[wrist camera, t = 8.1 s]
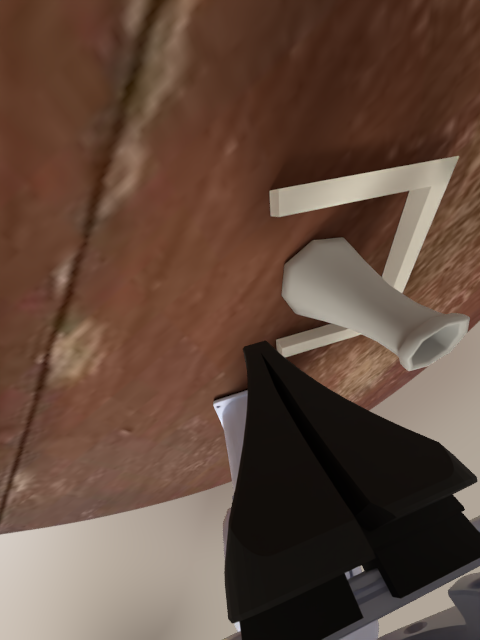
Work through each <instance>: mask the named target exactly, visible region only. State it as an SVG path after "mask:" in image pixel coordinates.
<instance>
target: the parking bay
mask: <svg viewBox="0 0 480 640" xmlns="http://www.w3.org/2000/svg"><path fill="white" fill-rule="evenodd" d="M458 158H459V156H455V157H450V158H444V159H439V160H433V161H428V162H422V163H417V164H411V165H406V166H401V167H395V168H390V169H384V170H379V171H373V172H368V173H362V174H357V175H352V176H346V177H341V178H335V179H330V180H324V181H319V182H313V183H308V184H302V185H297V186H292V187H286V188H281V189H276V190H271V191H269V192H270V214H271V216H274V217H282V216H287V215H292V214H297V213H301V212H306V211H311V210H316V209H321V208H326V207H331V206H336V205H341V204H346V203H351V202H356V201H361V200H365V199H370V198H375V197H380V196H385V195H390V194H395V193H400V192H405V191H409V194H408V197H407V200H406V203H405V206H404V210H403V213H402V216H401V219H400V222H399V225H398V228H397V231H396V234H395V237H394V241H393V244H392V247H391V250H390V253H389V256H388V259H387V262H386V265H385V269H384V272H383V275H382V278H383V279H384V280H385V281H386V282H387V283H388V284H389V285H390V286H392V287H393V288H395V289H396V290H398V291H399V292H401V293H403V291H404V288H405V286H406V283H407V281H408V279H409V276H410V274H411V271H412V269H413V267H414V264H415V262H416V259H417V257H418V254H419V252H420V250H421V247H422V245H423V242H424V240H425V238H426V235H427V233H428V230H429V228H430V226H431V223H432V221H433V218H434V216H435V213H436V211H437V209H438V206H439V204H440V201H441V199H442V197H443V194H444V192H445V189H446V187H447V185H448V182H449V180H450V177H451V175H452V172H453V170H454V168H455V165H456V163H457V160H458ZM358 335H361V334H360V333H358V332H356V331H354V330H352V329H348V328H345V327H342V326H338V325H335V324H329V325H325V326H322V327H318V328H315V329H311V330H308V331H304V332H301V333H298V334H294V335H291V336H287V337H284V338H280V339H277V340H276V347H277V351H278V352H279V353H280V354H281V355H282V356H284V357H289V356H292V355H295V354H298V353H302V352H305V351H308V350H312V349H315V348H318V347H321V346H325V345H328V344H331V343H335V342H338V341H341V340H345V339H348V338H351V337H354V336H358Z"/></svg>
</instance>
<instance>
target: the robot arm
mask: <svg viewBox="0 0 480 640" xmlns="http://www.w3.org/2000/svg"><path fill="white" fill-rule="evenodd" d="M243 352H244V357H245V362H246V367H247V377H248V390H246V391H243V392H240V393H237V394H234V395H231V396H227V397H224V398H221V399H218V400H215V401H214V402H213V405H214V408H215V410H216V412H217V415H218V417H219V419H220V421H221V424H222V426H223V428H224V432H225V439H226V445H227V451H228V458H229V464H230V470H231V476H232V483H233V489H234V495H233V496H232V499H233V502H232V507H231V508H229V509H228V511H227V515H226V516H225V519H224V521H223V541H224V555H225V589H226V599H227V609H228V619H229V620H230V621H231V623H235V627H236V629H237V633H235V634H233V635H231V636H229V637H227V638H225V639H223V640H480V573H474V574H470V575H467V576H464V577H462V578H460V579H459V580H458V581H457V582H456V583H455V584H454V585H453V586H452V587H451V588H450V589H449V590H448V594H449V597H450V598H451V599H452V601H453V602H454V604H455V606H454V607H452V608H449V609H447V610H444V611H442V612H439V613H437V614H435V615H432V616H430V617H427V618H424V619H422V620H420V621H417V622H415V623H412V624H410V625H407V626H405V627H403V628H400V629H398V630H395V631H393V632H391V633H388V634H386V635H384V636H382V637H380V638H378V632H379V623H378V619H379V618H381V617H383V616H385V615H387V614H389V613H391V612H393V611H395V610H396V609H399V608H400V607H402V606H404V605H406V604H408V603H410V602H412V601H414V600H416V599H418V598H420V597H421V596H423V595H425V594H427V593H429V592H431V591H433V590H435V589H437V588H439V587H441V586H442V585H444V584H446V583H448V582H450V581H452V580H454V579H456V578H458V577H460V576H461V575H464V574H465V573H467V572H469V571H471V570H473V569H475V568H477V567H479V566H480V516H478V517H476V518H474V519H472V520H470V521H469V520H468V519H467V518H466V517H465V516H464V514H463V513H462V511H464V510H465V509H464V507H463V505H461V503H460V502H459V501H458V500H457V499H456V498H455V497H454V496H453V495H452V494H454V493H456V492H458V491H460V490H462V489H464V488H466V487H468V486H470V485H472V484H474V483H476V482H477V477H476V476H475V475H474V474H473V473H472V472H471V471H470V470H469V469H468V468H467V467H465V465H464V464H462V463H461V462H460V461H459V460H458V459H457V458H456V457H455V456H454V455H453V454H452V453H450V452H449V451H448V450H447V449H446V448H445V447H444V446H442V445H441V444H440V443H439V442H437V441H434V440H432V439H430V438H427V437H425V436H423V435H420V434H418V433H415V432H413V431H411V430H408V429H406V428H404V427H402V426H399V425H397V424H395V423H393V422H391V421H389V420H386V419H384V418H382V417H380V416H378V415H376V414H374V413H372V412H370V411H368V410H366V409H364V408H362V407H360V406H359V405H357V404H355V403H353V402H351V401H349V400H347V399H345V398H343V397H342V396H340V395H338V394H337V393H335V392H333V391H331V390H330V389H328V388H327V387H325V386H323V385H322V384H320V383H319V382H317V381H316V380H314V379H313V378H311V377H310V376H308V375H307V374H306V373H304V372H303V371H301V370H300V369H299V368H297V367H296V366H295V365H294V364H292V363H291V362H290V361H289V360H287V359H286V358H285V357H284V356H282V355H281V354H280V353H279V352H278V351H277V350H276V349H274V348H273V347H272V346H271V345H270V344H269V343H268V342H267V341H263V342H259V343H256V344H252V345H249V346H245V347H244V348H243ZM361 565H362V566H363V568H364V570H365V571H364V572H362V571H361V567H360V566H361Z"/></svg>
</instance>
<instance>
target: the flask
mask: <svg viewBox="0 0 480 640" xmlns="http://www.w3.org/2000/svg"><path fill="white" fill-rule="evenodd" d="M282 297H283V298H284V299H285V301H286V302H287V303H288V305H289V306H290V307H291V309H292V310H293V311H294V313H295V314H298V315H302V316H306V317H310V318H314V319H318V320H322V321H325V322H328V323H332V324H335V325H338V326H342V327H345V328H348V329H352V330H354V331H356V332H358V333H360V334H362V335H364V336H366V337H369V338H371V339H373V340H375V341H377V342H379V343H380V344H382V345H383V346H385V347H386V348H388V349H389V350H390V351H392V352H393V353H395V354H396V355H397V356H398V357H399V360H400V363H401V365H402V366H403V367H404V368H405V369H407V370H408V371H411V370H415V369H419V368H422V367H426V366H429V365H430V364H432V363H434V362H435V361H437V360H438V359H440V358H442V357H443V356H445V355H447V354H448V353H450V352H451V351H452V350H453V349H454V348H455V346H456V345H457V344H458V343H459V342H460V341H461V339H462V338H463V337H464V336H465V335H466V333H467V332H468V326H469V320H470V317H468V316H466V315H464V314H459V313H450V314H442V313H439V312H436V311H434V310H432V309H430V308H427V307H425V306H423V305H420V304H418V303H416V302H414V301H413V300H411V299H410V298H408V297H407V296H405V295H404V294H402V293H401V292H399V291H398V290H396V289H395V288H393V287H392V286H390V285H389V284H388V283H387V282H386V281H385V280H384V279H383V278H382V277H381V276H380V275H379V274H378V273H377V272H376V271H375V270H374V269H373V268H372V267H371V266H370V265H369V264H368V263H367V262H366V261H365V260H364V259H363V258H362V257H361V256H360V255H359V254H358V253H357V252H356V250H355V249H354V248H353V247H352V246H351V245H350V244H349V243H348V242H347V241H346V240H345V239H344V238H343V237H340V238H330V239H320V240H312V241H311V242H310V243H309V244H308V245H306V246H305V247H304V248H303V249H302V250H301V251H300V252H298V253H297V254H296V255H295V256H294V257H293V258H292V259H290V260H289V261H288V262H287V263H286V264H285V265H284V274H283V285H282Z"/></svg>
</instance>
